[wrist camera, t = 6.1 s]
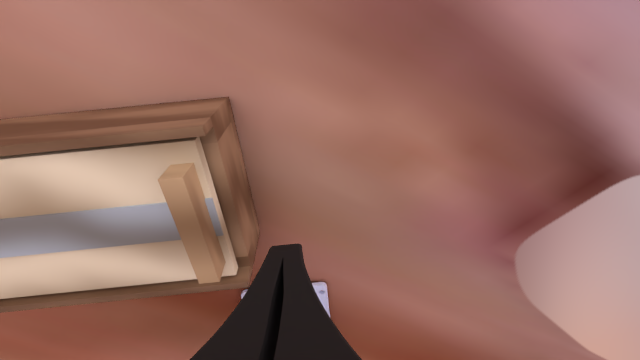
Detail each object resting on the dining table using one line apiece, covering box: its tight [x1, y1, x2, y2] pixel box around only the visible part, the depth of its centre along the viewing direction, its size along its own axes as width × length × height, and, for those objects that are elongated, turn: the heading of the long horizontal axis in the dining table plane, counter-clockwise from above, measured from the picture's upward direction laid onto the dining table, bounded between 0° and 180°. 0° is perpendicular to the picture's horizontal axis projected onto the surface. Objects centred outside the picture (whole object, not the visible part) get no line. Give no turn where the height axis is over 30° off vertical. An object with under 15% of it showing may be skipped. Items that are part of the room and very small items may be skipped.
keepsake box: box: [0, 97, 260, 313], centre depth 19 cm, size 11×18×6 cm, turn 95°
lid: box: [0, 137, 238, 299], centre depth 17 cm, size 9×16×2 cm, turn 95°
